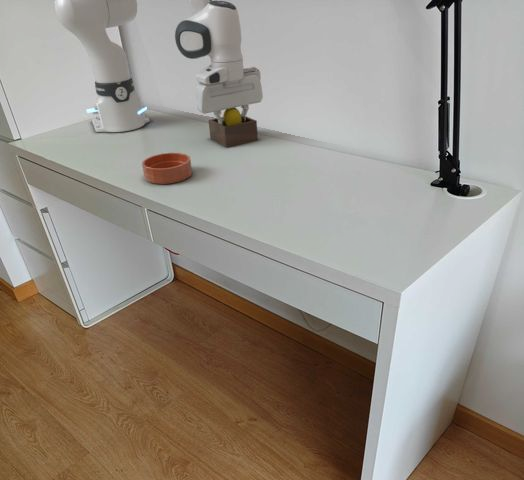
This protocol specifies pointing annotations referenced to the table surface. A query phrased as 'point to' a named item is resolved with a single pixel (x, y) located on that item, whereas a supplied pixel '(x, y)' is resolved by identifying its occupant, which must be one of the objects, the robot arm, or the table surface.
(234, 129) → the holder
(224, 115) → the lemon
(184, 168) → the bowl
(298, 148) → the table surface
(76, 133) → the table surface
